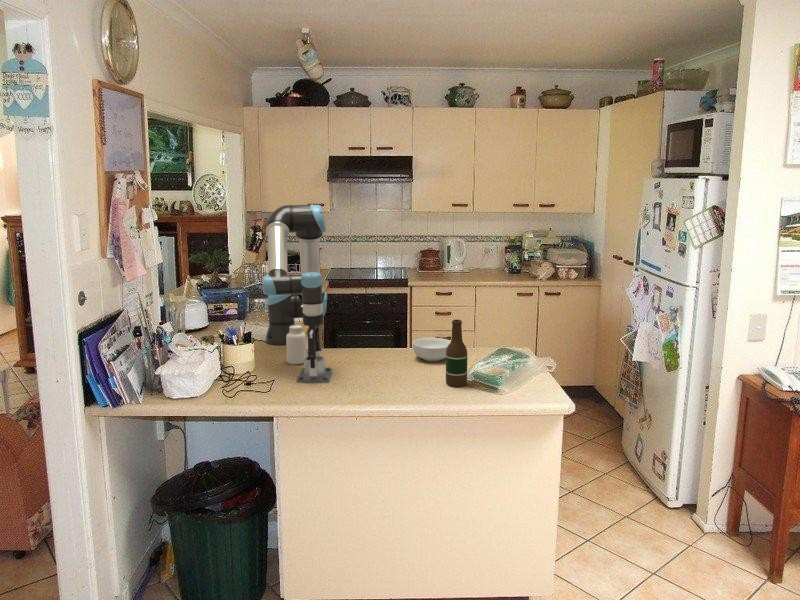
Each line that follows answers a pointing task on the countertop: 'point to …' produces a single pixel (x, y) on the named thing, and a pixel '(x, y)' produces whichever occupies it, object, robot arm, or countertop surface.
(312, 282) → the robot arm
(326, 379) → the shaft stand
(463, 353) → the beer bottle
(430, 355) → the cereal bowl
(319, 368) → the hub
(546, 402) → the countertop surface
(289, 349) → the pill bottle
